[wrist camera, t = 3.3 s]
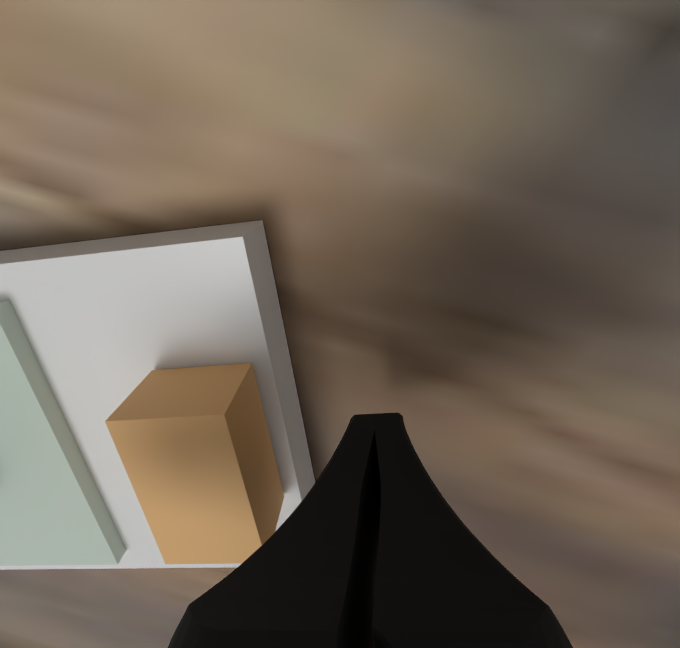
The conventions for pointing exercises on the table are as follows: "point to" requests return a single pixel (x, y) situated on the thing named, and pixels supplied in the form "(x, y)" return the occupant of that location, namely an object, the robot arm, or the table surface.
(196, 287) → the white layered base plate
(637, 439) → the table surface
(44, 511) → the cover
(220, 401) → the slider
